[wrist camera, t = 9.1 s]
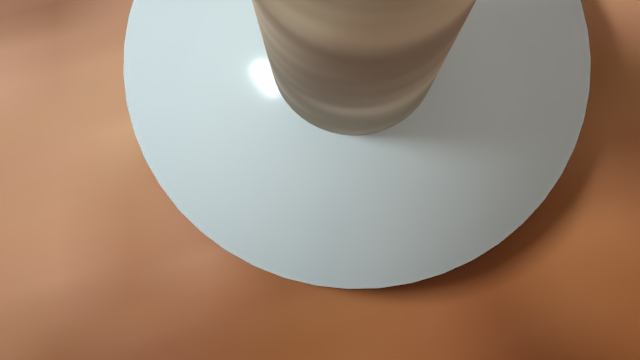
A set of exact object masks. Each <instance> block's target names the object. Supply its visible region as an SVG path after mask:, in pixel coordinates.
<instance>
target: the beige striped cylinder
mask: <svg viewBox="0 0 640 360" xmlns="http://www.w3.org/2000/svg"><path fill="white" fill-rule="evenodd" d="M475 2H476V0H252V3H253V6H254V10H255V13H256V17H257V20H258V24H259V28H260V31H261V35H262V38H263V42H264V45H265V49H266V52H267V56H268V59H269V63H270V66H271V70H272V74H273V77H274V80H275V83H276V85H277V87H278V90H279V92H280V94H281V95H282V97H283V98H284V100H285V101H286V103H287V104H288V105H289V106H290V107H291V109H292V110H293V111H294V112H296V113H297V114H298V115H299V116H300V117H301V118H303V119H304V120H306V121H307V122H308V123H310V124H312V125H314V126H316V127H318V128H320V129H323V130H326V131H328V132H332V133H336V134H341V135H366V134H372V133H376V132H379V131H382V130H385V129H388V128H390V127H392V126H394V125H396V124H398V123H399V122H401V121H402V120H404V119H405V118H406V117H408V116H409V115H410V114H411V113H412V112H413V111H414V110H415V109H416V108H417V107H418V106H419V105H420V104H421V102H422V101H423V99H424V98H425V96H426V95H427V93H428V91H429V89H430V87H431V85H432V83H433V81H434V80H435V78H436V76H437V74H438V72H439V70H440V68H441V66H442V64H443V62H444V61H445V59H446V57H447V55H448V53H449V51H450V49H451V47H452V45H453V44H454V42H455V40H456V38H457V36H458V34H459V32H460V30H461V28H462V26H463V25H464V23H465V21H466V19H467V17H468V15H469V13H470V11H471V9H472V7H473V6H474V4H475Z"/></svg>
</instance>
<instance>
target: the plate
mask: <svg viewBox="0 0 640 360" xmlns="http://www.w3.org/2000/svg"><path fill="white" fill-rule="evenodd" d="M590 68H591V57H590V47H589V36H588V29H587V25H586V21H585V16H584V12H583V8H582V4H581V1H580V0H476V2H475V4H474V6H473V7H472V9H471V11H470V13H469V15H468V17H467V19H466V21H465V23H464V25H463V26H462V28H461V30H460V32H459V34H458V36H457V38H456V40H455V42H454V44H453V45H452V47H451V49H450V51H449V53H448V55H447V57H446V59H445V61H444V62H443V64H442V66H441V68H440V70H439V72H438V74H437V76H436V78H435V80H434V81H433V83H432V85H431V87H430V89H429V91H428V93H427V95H426V96H425V98H424V99H423V101H422V102H421V104H420V105H419V106H418V107H417V108H416V109H415V110H414V111H413V112H412V113H411V114H410V115H409V116H408V117H406V118H405V119H404V120H402V121H401V122H399V123H398V124H396V125H394V126H392V127H390V128H388V129H385V130H382V131H379V132H376V133H372V134H366V135H341V134H336V133H332V132H328V131H326V130H323V129H320V128H318V127H316V126H314V125H312V124H310V123H308V122H307V121H306V120H304V119H303V118H301V117H300V116H299V115H298V114H297V113H296V112H294V111H293V110H292V109H291V107H290V106H289V105H288V104H287V103H286V101H285V100H284V98H283V97H282V95H281V94H280V92H279V90H278V87H277V85H276V83H275V80H274V77H273V74H272V70H271V66H270V63H269V59H268V56H267V52H266V49H265V45H264V42H263V38H262V35H261V31H260V28H259V24H258V20H257V17H256V13H255V10H254V6H253V3H252V0H134V2H133V5H132V8H131V11H130V15H129V19H128V25H127V32H126V38H125V44H124V82H125V91H126V100H127V106H128V110H129V114H130V118H131V122H132V126H133V130H134V133H135V135H136V138H137V140H138V143H139V145H140V148H141V150H142V153H143V155H144V158H145V160H146V162H147V163H148V165H149V167H150V169H151V170H152V172H153V174H154V175H155V177H156V179H157V181H158V182H159V184H160V186H161V187H162V188H163V190H164V191H165V192H166V194H167V195H168V196H169V197H170V199H171V200H172V201H173V203H174V204H175V205H176V207H177V208H178V209H179V210H180V211H181V212H182V213H183V214H184V215H185V216H186V217H187V218H188V219H189V220H190V221H191V222H192V223H193V224H194V225H195V226H196V227H197V228H198V229H199V230H200V231H201V232H202V233H204V234H205V235H206V236H208V237H209V238H210V239H212V240H213V241H214V242H216V243H217V244H218V245H220V246H221V247H222V248H224V249H225V250H226V251H228V252H230V253H232V254H234V255H235V256H237V257H239V258H241V259H243V260H244V261H246V262H248V263H250V264H252V265H253V266H256V267H258V268H261V269H263V270H266V271H268V272H271V273H273V274H276V275H279V276H281V277H284V278H287V279H292V280H296V281H300V282H304V283H308V284H312V285H317V286H326V287H335V288H344V289H362V288H384V287H390V286H396V285H402V284H409V283H414V282H417V281H420V280H424V279H427V278H430V277H434V276H437V275H440V274H443V273H446V272H448V271H450V270H452V269H454V268H457V267H459V266H461V265H463V264H466V263H468V262H470V261H472V260H474V259H475V258H477V257H479V256H480V255H482V254H483V253H485V252H486V251H488V250H490V249H491V248H493V247H494V246H496V245H498V244H499V243H500V242H502V241H503V240H504V239H505V238H506V237H508V236H509V235H510V234H511V233H512V232H514V231H515V230H516V229H517V228H518V227H519V226H521V225H522V224H523V223H524V222H525V221H526V220H527V219H528V218H529V216H530V215H531V214H532V213H533V212H534V211H535V210H536V209H537V208H538V206H539V205H540V204H541V203H542V202H543V201H544V200H545V198H546V197H547V195H548V194H549V192H550V191H551V189H552V188H553V187H554V185H555V184H556V182H557V181H558V179H559V178H560V176H561V175H562V173H563V171H564V169H565V167H566V165H567V163H568V161H569V158H570V156H571V154H572V152H573V150H574V148H575V146H576V143H577V140H578V137H579V134H580V131H581V128H582V124H583V121H584V118H585V113H586V107H587V101H588V96H589V90H590Z"/></svg>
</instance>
